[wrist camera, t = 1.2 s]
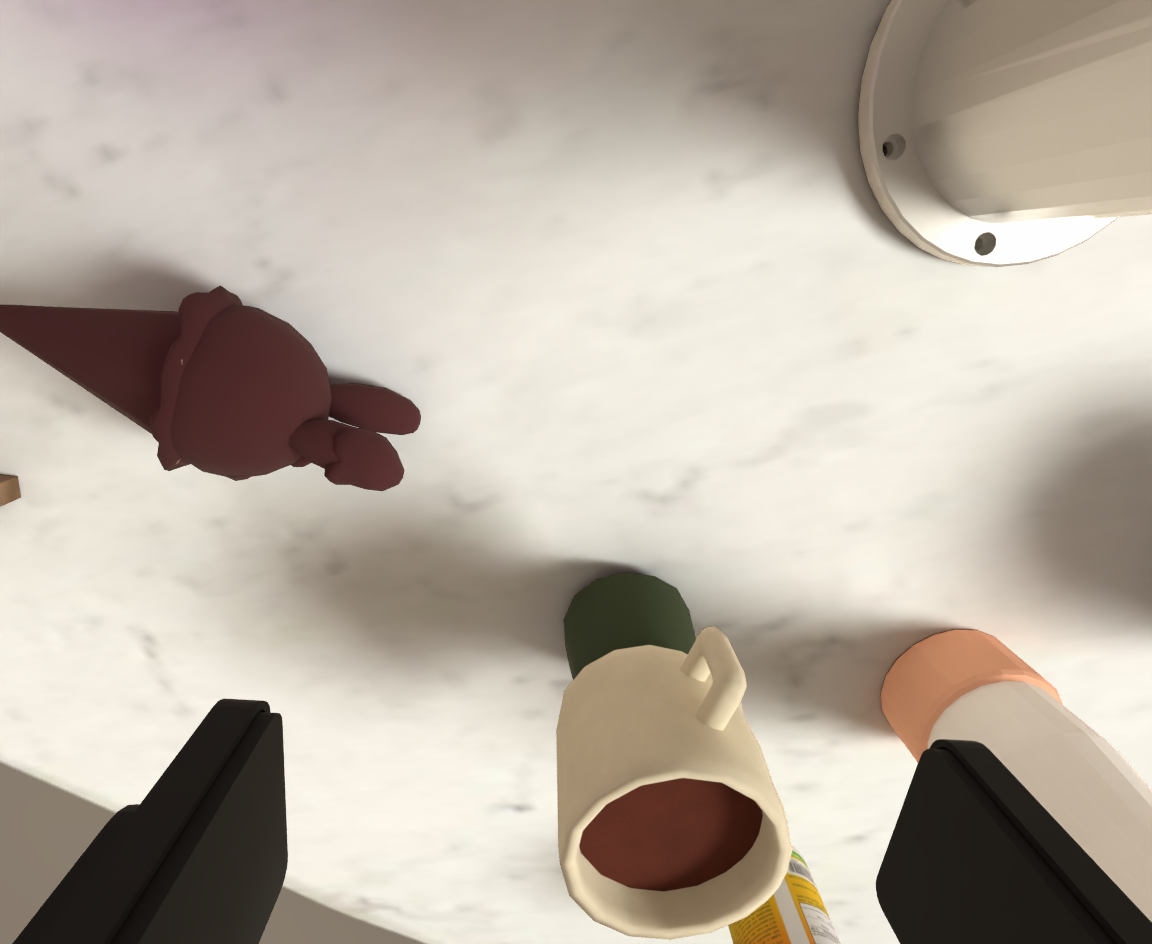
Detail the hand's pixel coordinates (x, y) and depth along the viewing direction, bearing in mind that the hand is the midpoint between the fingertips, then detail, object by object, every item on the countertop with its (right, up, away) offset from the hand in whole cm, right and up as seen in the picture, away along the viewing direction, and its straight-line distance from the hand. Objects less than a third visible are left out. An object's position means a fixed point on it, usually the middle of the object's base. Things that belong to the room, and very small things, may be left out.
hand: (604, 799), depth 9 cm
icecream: (-14, +9, +17) cm, 24 cm away
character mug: (+2, -3, +22) cm, 22 cm away
